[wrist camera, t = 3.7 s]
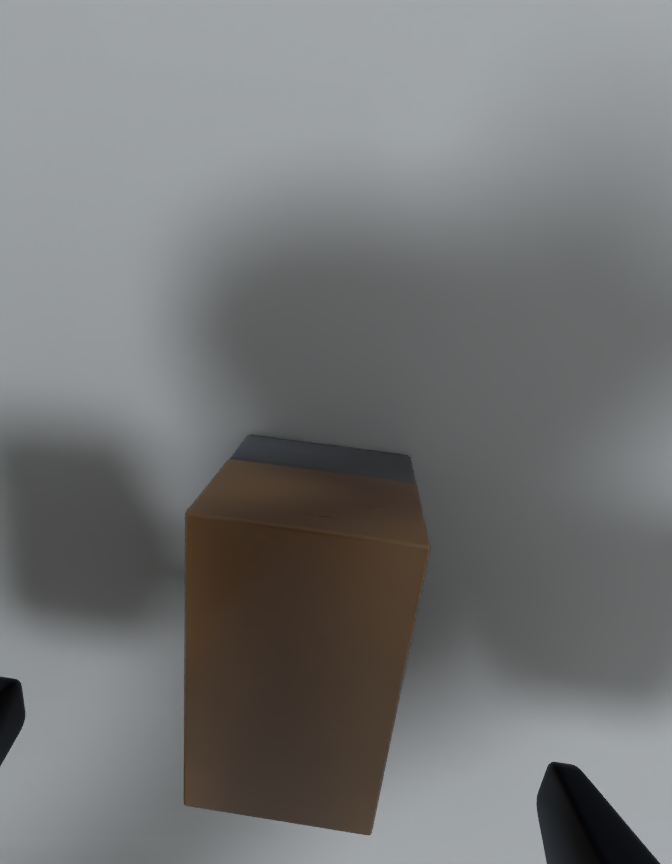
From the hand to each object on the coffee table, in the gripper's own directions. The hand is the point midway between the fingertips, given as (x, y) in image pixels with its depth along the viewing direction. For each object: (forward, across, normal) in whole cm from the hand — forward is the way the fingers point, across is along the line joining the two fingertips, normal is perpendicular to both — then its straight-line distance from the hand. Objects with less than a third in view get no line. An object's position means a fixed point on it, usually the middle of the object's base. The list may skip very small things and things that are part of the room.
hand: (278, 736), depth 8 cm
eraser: (+5, 0, 0) cm, 5 cm away
